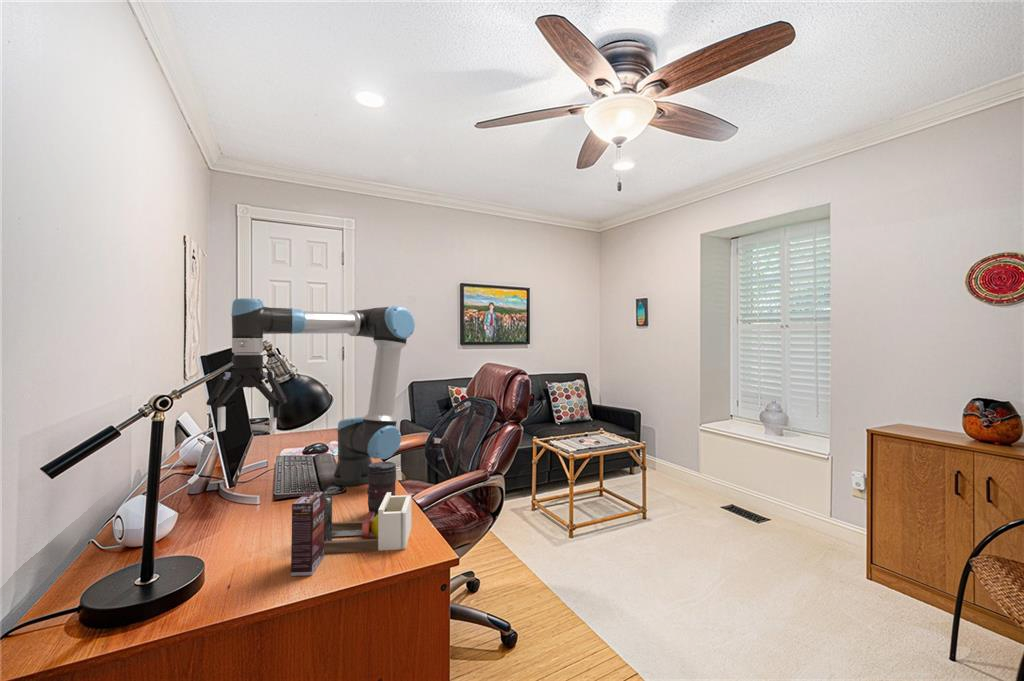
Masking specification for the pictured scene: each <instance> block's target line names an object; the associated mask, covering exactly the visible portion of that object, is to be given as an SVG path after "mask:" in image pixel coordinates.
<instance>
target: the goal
mask: <svg viewBox="0 0 1024 681" xmlns="http://www.w3.org/2000/svg"><path fill="white" fill-rule="evenodd" d="M385 509H386V511H388V512H384V511H385ZM411 530H412V494H406V495H405V494H403V495H402V494H401V495H396V496H391V492H387V493H386V495H385V497H384V499H383V501H382V503H381V505H380V507H379V509H378V551H380V552H381V551H396V550H406V549H407V545H408V542H409V537H410V534H411ZM378 551H377V552H378Z"/></svg>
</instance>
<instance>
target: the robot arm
mask: <svg viewBox="0 0 1024 681" xmlns="http://www.w3.org/2000/svg"><path fill="white" fill-rule="evenodd" d="M230 315H231V353H233V355H232V356H231V364H232V363H233V364H234V366H233V367H232V366H231V372H229V371H226V370H225V371H226V372H224V371H223V372H224V373H222V374H220V375H219V374H218V380H217V382H216V384H215V386H214V388H213V390H212V391H211V393H210V395H209V397H208V399H207V401H206V405H207V406H209V407H210V406H211V407H213V408H214V411H213V413H214V414H213V415H214V420H217V432H224V431H225V430H226V426H227V425H226V421H227V420H226V419H227V418H226V412H227V410H226V409H227V408H226V406H224V404H225V403H226V402H227V401H228V400H229V399H230V397H231V396H232V395H233V394H234V393H235V392H236V390H237V389H243V388H248V389H250V388H251V389H252V388H256V389H257V390H258V391H259V392H260V393H261V394H262V395H263V396H264V398H265V399H266V400H267V401H268V402H269V403H270V404H271V405H272V406H270V407H269V431H274V430H277V428H278V427H277V424H278V423H277V421H278V420H277V418H280V416H281V406H282V405H284V404H286V403H288V400H287V398H286V395H285V394H284V392H283V390H282V388H281V385H280V383H279V382H278V380H277V378H276V372H275V370H269V371H265V372H264V370H263V369H264V356H263V355H262V353H263V352H264V335H275V334H276V335H278V334H280V335H281V334H285V335H286V334H290V335H293V334H297V335H298V334H301V335H302V334H307V335H308V334H348V335H349V336H351V337H364V338H372V339H373V340H372V342H373V343H374V345H376V352H375V359H374V368H373V373H372V374H373V375H372V381H371V387H370V388H371V389H370V398H369V405H368V410H367V414H366V415H364V416H359V417H350V418H345V419H344V418H343V419H341V420H339V422H338V423H337V429H336V430H337V462H336V465H335V468H334V471H333V475H332V483H333V482H334V483H335V484H334V483H333V484H334V485H336V484H339V485H338V486H340V485H342V486H343V487H352V486H361V485H365V484H368V469H369V465H370V464H371V463H373V460H372V459H376V460H378V459H379V460H386V459H388V458H390V457H392V456H393V455H394V454H395V453H396V452H397V451H398V449H399V448H400V446H401V444H402V443H401V442H402V433H401V432H400V430H399V428H397V423H398V422H397V420H398V419H396V417H395V416H394V409H395V402H396V401H395V400H396V393H397V387H398V386H397V385H398V378H399V377H398V376H399V368H400V362H401V352H402V349H403V348H405V346H406V345H407V340H408V339H409V338H410V337H411V336H412V335H413V333H414V331H415V328H416V327H415V326H416V324H415V323H416V322H415V319H414V316H413V315H412V314H411V312H410V311H409V309H407V308H405V307H403V306H397V305H396V306H395V305H391V306H382V307H374V308H373V307H372V308H365V309H357V310H356V309H352V310H349V311H347V312H338V311H335V312H333V311H309V310H308V311H303V310H302V309H298V308H293V307H292V308H289V307H288V308H286V307H285V308H284V307H267V306H264V302H263V300H262V299H259V298H258V299H257V298H236V299H234V300H233V301H232V305H231V313H230ZM251 353H252V354H251ZM264 377H265V379H266V380H267V381H268V383H269V386H270V387H271V389H272V391H271V390H270V389H269V388H268V387H267V386H266V384H265V383H264V381H263V378H264ZM230 378H231V380H233V382H231V383H230V385H229V386H228V387H227V389H226V390H225V391H224V393H222V392H223V390H224V388H225V386H226V383H228V380H229V379H230ZM273 392H274V393H273ZM221 393H222V394H221ZM342 486H341V487H342Z"/></svg>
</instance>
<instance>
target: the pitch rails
mask: <svg viewBox="0 0 1024 681" xmlns="http://www.w3.org/2000/svg"><path fill="white" fill-rule="evenodd" d="M363 521H364V520H358V521H357V520H355V521H351V520H350V521H332V531H339V530H361V529H362V523H363ZM342 540H343V541H324V554H333V553H334V554H337V553H338V554H339V553H356V552H357V553H359V552H375V551H376V552H378V539H376V538H372V539H364V540H350V539H342Z"/></svg>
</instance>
